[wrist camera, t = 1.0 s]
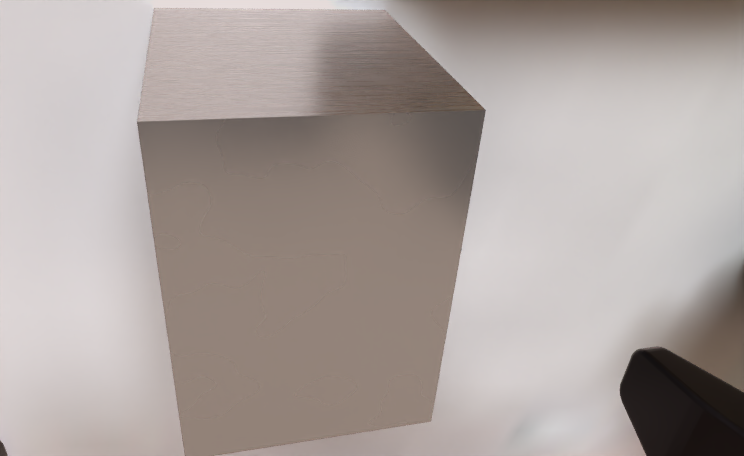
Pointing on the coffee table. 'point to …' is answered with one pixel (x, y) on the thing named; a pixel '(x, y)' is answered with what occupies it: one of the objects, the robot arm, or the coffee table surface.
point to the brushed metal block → (302, 219)
